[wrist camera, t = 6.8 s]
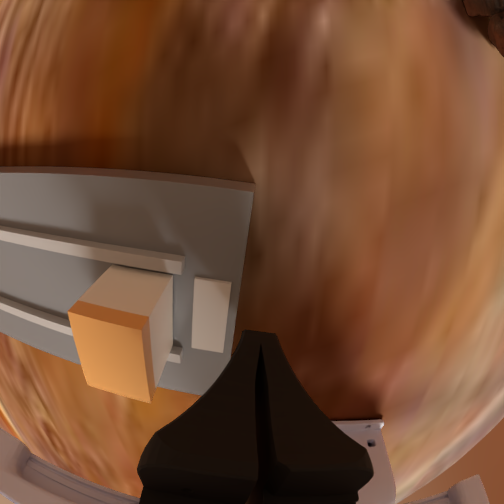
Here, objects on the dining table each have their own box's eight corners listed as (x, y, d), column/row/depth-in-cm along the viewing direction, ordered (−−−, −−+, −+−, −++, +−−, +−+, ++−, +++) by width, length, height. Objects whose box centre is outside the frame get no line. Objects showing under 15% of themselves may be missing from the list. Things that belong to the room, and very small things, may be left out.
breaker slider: (172, 275, 13) (141, 330, 9) (172, 344, 14) (150, 403, 11) (112, 264, 13) (67, 311, 9) (119, 332, 14) (87, 385, 10)
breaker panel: (255, 183, 13) (253, 195, 11) (228, 375, 18) (223, 406, 15) (-21, 167, 13) (-47, 175, 10) (5, 314, 17) (-13, 331, 15)
